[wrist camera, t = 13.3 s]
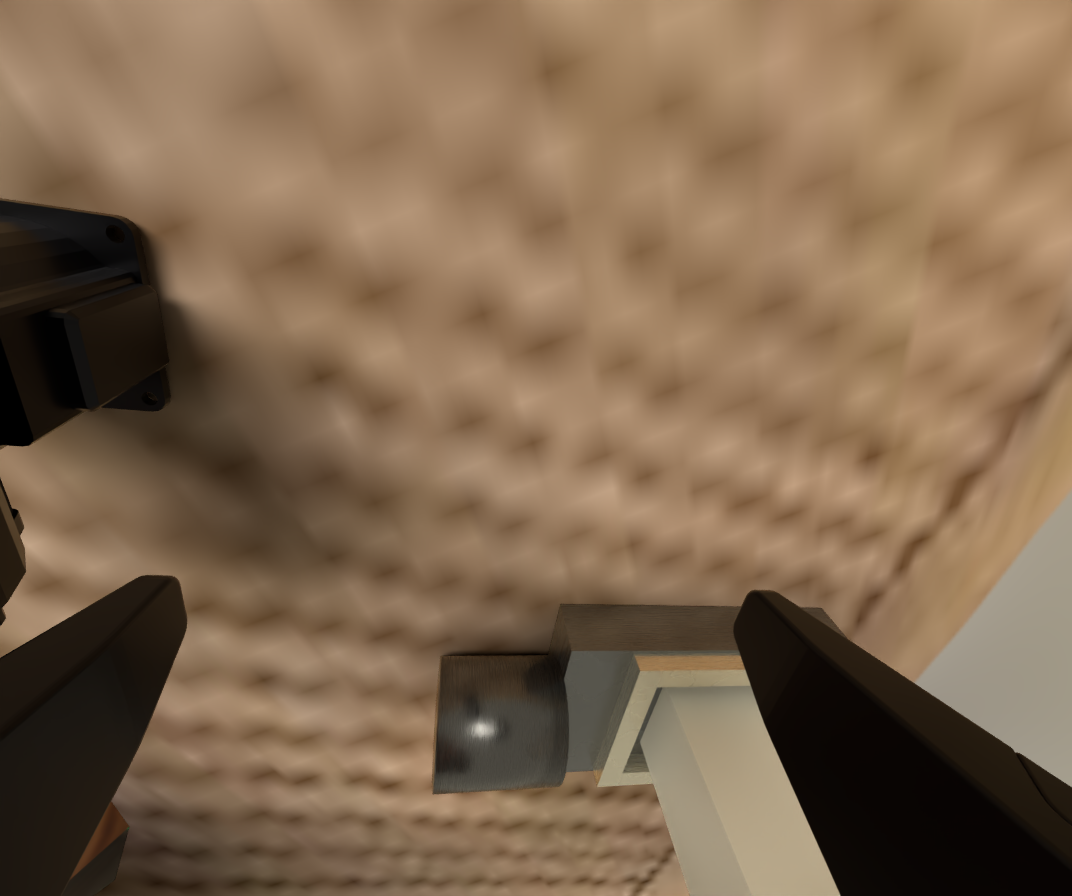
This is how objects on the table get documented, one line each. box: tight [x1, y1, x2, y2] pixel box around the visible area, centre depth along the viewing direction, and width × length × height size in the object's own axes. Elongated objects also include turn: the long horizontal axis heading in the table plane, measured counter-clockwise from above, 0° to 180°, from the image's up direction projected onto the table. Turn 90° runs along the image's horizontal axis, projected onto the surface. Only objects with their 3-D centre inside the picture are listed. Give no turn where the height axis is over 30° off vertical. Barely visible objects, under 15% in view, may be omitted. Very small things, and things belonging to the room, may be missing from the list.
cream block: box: [640, 686, 840, 896], centre depth 23 cm, size 7×5×10 cm
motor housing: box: [432, 604, 847, 794], centre depth 27 cm, size 22×10×6 cm, turn 81°
